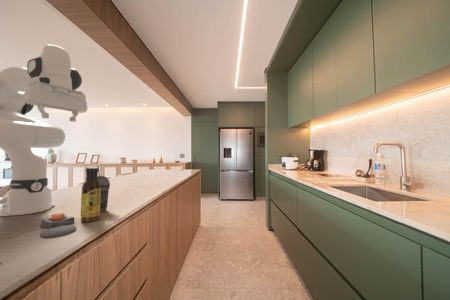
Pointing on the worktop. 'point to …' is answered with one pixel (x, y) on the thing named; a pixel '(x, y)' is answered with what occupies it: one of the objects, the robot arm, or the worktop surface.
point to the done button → (57, 216)
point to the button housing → (57, 222)
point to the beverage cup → (103, 191)
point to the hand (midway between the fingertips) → (59, 119)
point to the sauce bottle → (90, 196)
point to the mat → (58, 231)
